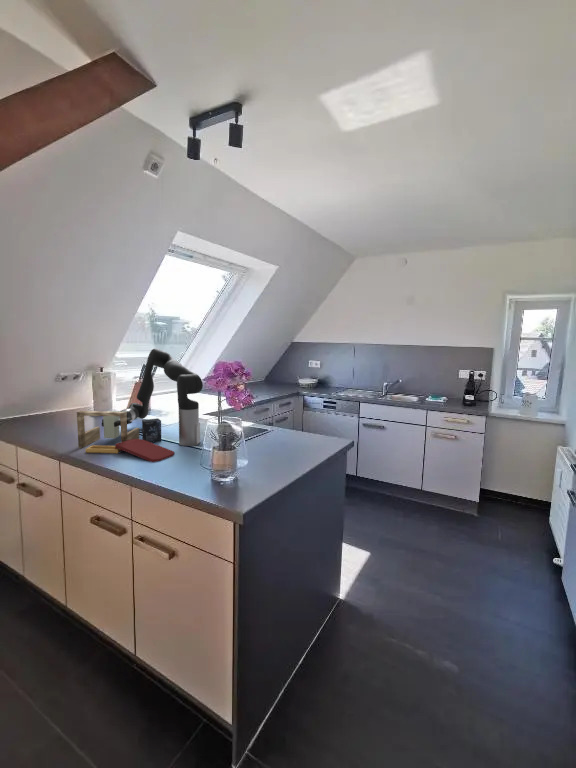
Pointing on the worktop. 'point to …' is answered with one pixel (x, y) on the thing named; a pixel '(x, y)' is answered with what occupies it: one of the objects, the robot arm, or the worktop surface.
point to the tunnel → (94, 433)
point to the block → (111, 426)
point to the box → (151, 430)
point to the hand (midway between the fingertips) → (108, 424)
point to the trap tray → (103, 449)
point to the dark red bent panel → (144, 449)
